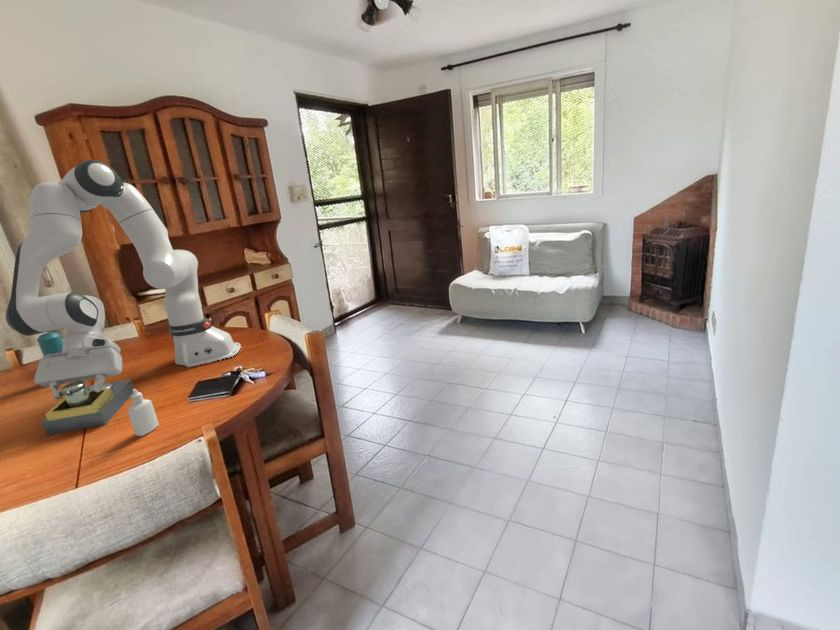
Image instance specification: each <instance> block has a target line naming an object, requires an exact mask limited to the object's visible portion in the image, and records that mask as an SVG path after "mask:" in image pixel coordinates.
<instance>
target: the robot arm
mask: <svg viewBox="0 0 840 630" xmlns="http://www.w3.org/2000/svg"><path fill="white" fill-rule="evenodd" d="M98 206H102V207H104V208H105V209H107V210H108V211H109V212H110V213H111V214H112V215H113V217H114V218H115V220H116V221H117V223H118V224H119V226H120V227H121V228H122V230H123V232H125V234H126V236H127V237H128V238H129V240H130V241H131V243H132V244H133V247H134V248H135V250H136V252H137V255H138V257H139V259H140V262H141V264H142V267H143V270H142V275H143V278H144V280H145V282H146V283H147V284H148V285H149V286H151V287H153V288H155V289H159V290H163V289H164V291H165V293H164V294H165V295H164V299H163V306H164V309H165V313H166V315H167V316H166V317H167V320H168V328H169V329H168V330H169V334H170V336H171V338H172V340H173V344H174V345H173V346H174V354H175V355H174V363H175V364H176V365H178V366H184V367H186V368H191V367H195V366H200V365H201V364H202V365H205V363H206V364H210V363H214V361H215V362H218V361H217V360H219V361H223V360H222V359H224V360H226V359H225V358H228V359H231V358H230V357H232V358H234V357H235V356H234V355H236V354H237V353H238V352H239V350H240V348H241V349H242V345H241V343H239V342H234V340H233V338H232V336H231V334H230V333H229V332H227V331H224V330H222V329H219V328H218V327H215V326H213V325H212V318H211V317H209V318H207V317H205V316H204V313H203V309H202V305H201V301H200V295H199V278H198V267H199V261H198V258H197V257H196V255H195V254H194V253H192V252H191V251H189V250H185V249H174V248H173V246H172V244H171V242H170V238H169V232H168V229H167V227H166V226H165V224H164V223H163V222H162V220H161V219H160V218H159V216H158V214H157V213H156V211H155V210H154V209H153V207H152V206H151V204H150V203H149V202H148V201H147V199H146V198H145V197H144V196H143V194H142V193H141V192H140V191H139V190H138V189H137V188H136V187H135V186H134V185H133V184H131V183H129V182H128V183H127V182H123V179H122V178H121V176H120V175H118V173H117V172H116V171H115V170H114V169H113V168H112V167H111V166H110V165H108V164H107V163H105V162H103V161H101V160H99V159H87V160H83V161H81V162H79V163H78V164H77V165H75V166H74V167H72V169H70V170H69V171H67V173H66V174H65V175H64V176H63V178H62V179H61V180H60V181H59V182H52V181H46V182H40V183H38V184H37V185H35V186H34V187H33V188H32V191H31V194H30V203H29V220H30V226H29V229H28V233H27V235H26V237H25V238H24V240H23V242H21V243H20V244H19V245H18V247H17V250H16V253H15V254H16V255H15V261H14V268H13V278H12V285H11V292H10V299H9V301H8V303H7V307H6V311H5V321H6V324H7V325H8V326H9V328H10V329H12V330H14V331H15V332H17V333H19V334H20V335H23V336H29V337H30V336H36V335H38V334H39V335H41V334H45V333H47V332H53V331H58V330H66V333H65V335H64V338H63V341H64V342H63V349H62V352H59V353H54V354H47V355H46V356H43V357H42V358H40V359H39V361H38V365H37V368H36V371H35V373H34V374H35V375H34V379H33V382H34V383H36V385H38V386H41V387H44V388H45V387H49V388H50V390H51V391H52V399H54V400H62V399H64V395H62V391H61V390H60V388H61V385H64V384H66V385H67V384H70V383H74V382H78V381H83V382H85V381H90V380H96V381H95V383H94V384H91V385H90V386H91V389H90V391H91V392H92V393H97V392H100V386H101V385H102V384H103V383H106V382H105V381H106V380H107V378H108V377H112V376H113V377H115V376H118V375H120V374H121V373H122V371H123V357H122V355H121V354H120V353H121V351H122V350H121V347H120V346H119V345H118V344H117V343H115V342H114V341H112V340H110V339H109V338H103V331H104V329H105V322H106V312H105V311H106V310H105V305H104V303H103V301H102V300H101V299H100V298H98V297H96V296H93V295H89V294H88V295H87V294H85V295H84V294H81V293H80V292H76V291H71V292H62V293H55V294H51V295H45V296H39V293H40V284H41V283H40V281H41V276H42V275H41V274H42V272H43V269H44V268H45V266H47V265H48V264H49V263H51V262H52V261H53V260H56V259H57V258H59V257H62V256H63V255H65V254H68V253H70V252H71V251H74V249H76V248H77V247H78V246H79V244H80V243H81V242H82V237H83V227H82V217H81V214H85V213H89V212H90V211H93V210H94V209H96V208H97V207H98ZM46 331H47V332H46ZM240 351H241V350H240ZM239 353H240V352H239ZM239 353H238V354H239ZM238 354H237V355H238ZM237 355H236V356H237ZM233 356H234V357H233Z"/></svg>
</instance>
